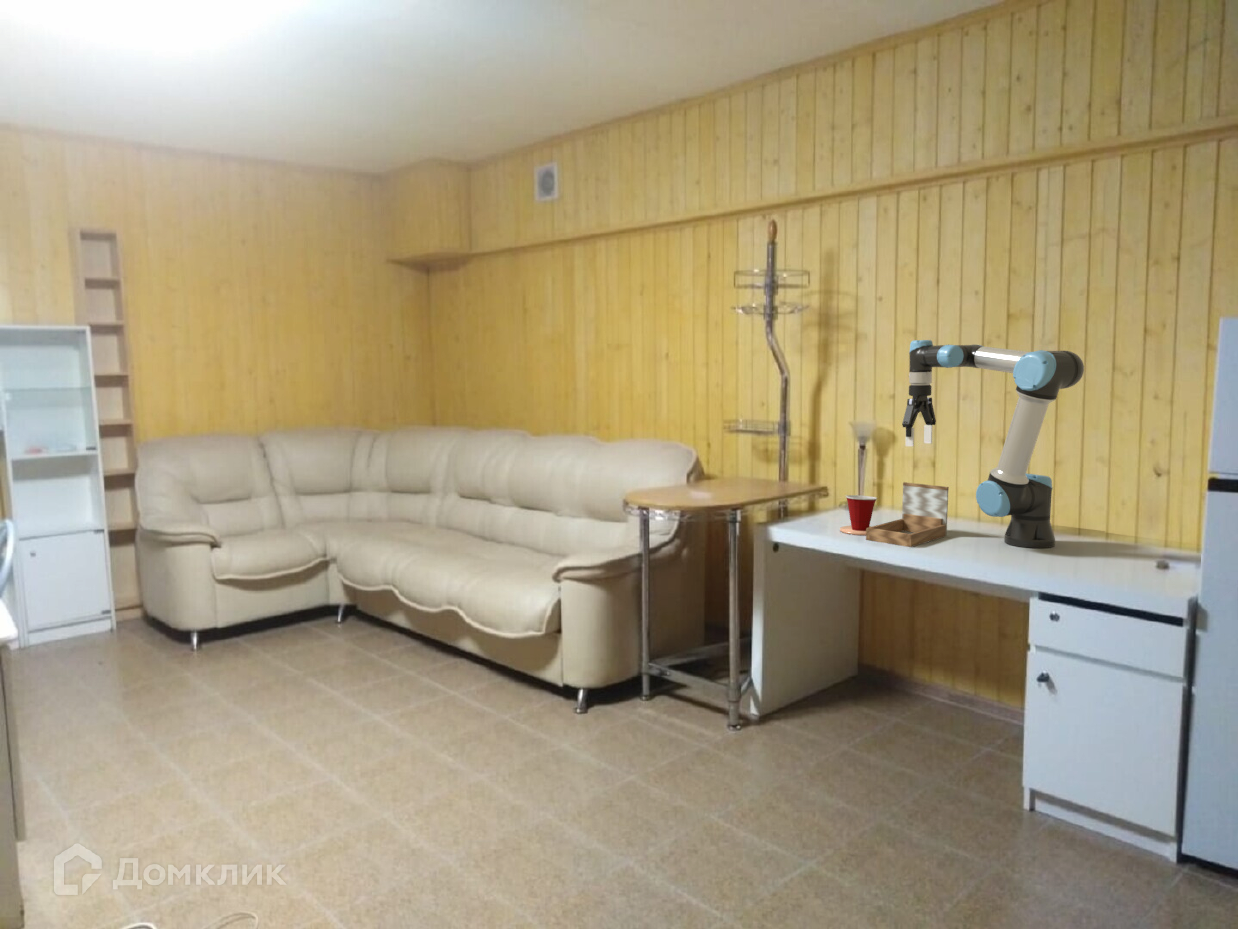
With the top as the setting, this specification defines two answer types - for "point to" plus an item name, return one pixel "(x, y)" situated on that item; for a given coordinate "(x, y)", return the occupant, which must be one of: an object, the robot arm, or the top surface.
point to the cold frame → (916, 517)
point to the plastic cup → (860, 511)
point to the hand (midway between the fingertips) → (918, 444)
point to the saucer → (852, 531)
